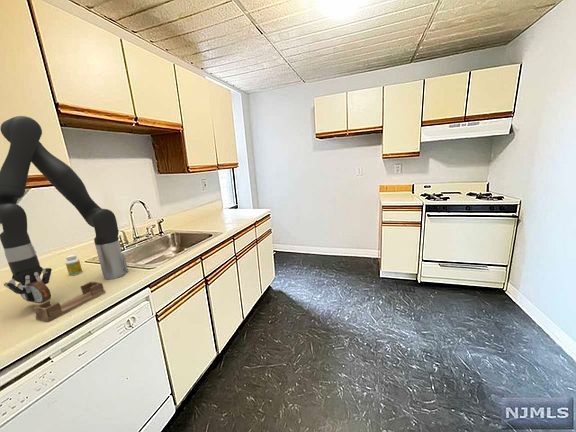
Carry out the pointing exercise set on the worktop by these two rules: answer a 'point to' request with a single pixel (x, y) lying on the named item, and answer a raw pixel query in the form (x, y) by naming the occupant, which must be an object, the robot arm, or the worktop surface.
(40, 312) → the rack
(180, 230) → the worktop surface
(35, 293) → the tin
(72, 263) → the supplement bottle
